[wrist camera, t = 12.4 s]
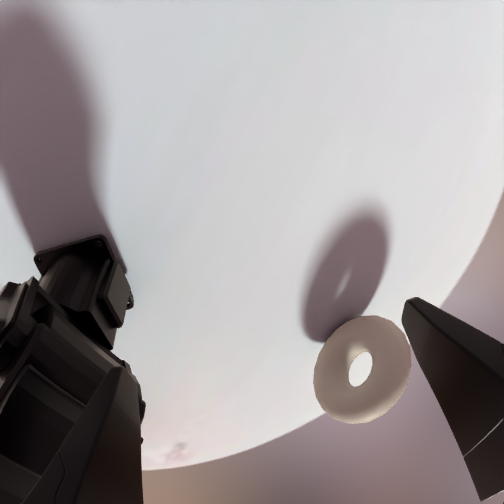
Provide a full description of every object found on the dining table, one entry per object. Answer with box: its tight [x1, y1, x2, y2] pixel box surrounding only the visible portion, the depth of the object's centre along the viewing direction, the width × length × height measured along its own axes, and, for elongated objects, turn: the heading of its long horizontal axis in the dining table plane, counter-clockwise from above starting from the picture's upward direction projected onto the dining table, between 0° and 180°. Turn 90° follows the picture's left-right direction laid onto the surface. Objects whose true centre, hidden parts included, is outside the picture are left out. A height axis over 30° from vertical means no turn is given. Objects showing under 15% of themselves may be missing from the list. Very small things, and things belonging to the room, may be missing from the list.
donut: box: [313, 316, 411, 424], centre depth 25 cm, size 10×4×10 cm, turn 142°
